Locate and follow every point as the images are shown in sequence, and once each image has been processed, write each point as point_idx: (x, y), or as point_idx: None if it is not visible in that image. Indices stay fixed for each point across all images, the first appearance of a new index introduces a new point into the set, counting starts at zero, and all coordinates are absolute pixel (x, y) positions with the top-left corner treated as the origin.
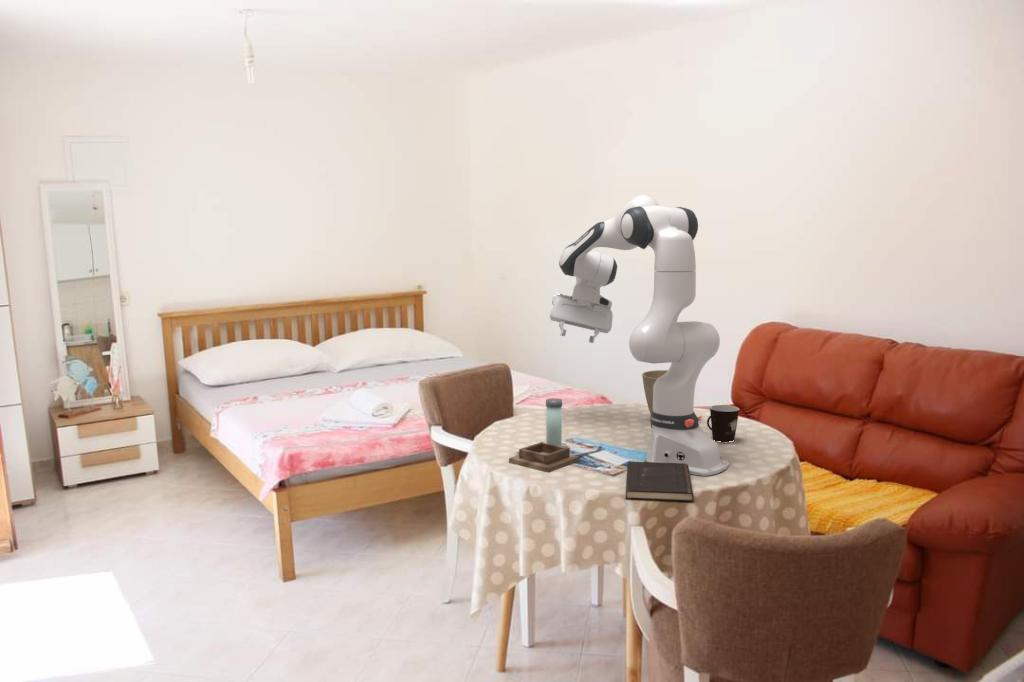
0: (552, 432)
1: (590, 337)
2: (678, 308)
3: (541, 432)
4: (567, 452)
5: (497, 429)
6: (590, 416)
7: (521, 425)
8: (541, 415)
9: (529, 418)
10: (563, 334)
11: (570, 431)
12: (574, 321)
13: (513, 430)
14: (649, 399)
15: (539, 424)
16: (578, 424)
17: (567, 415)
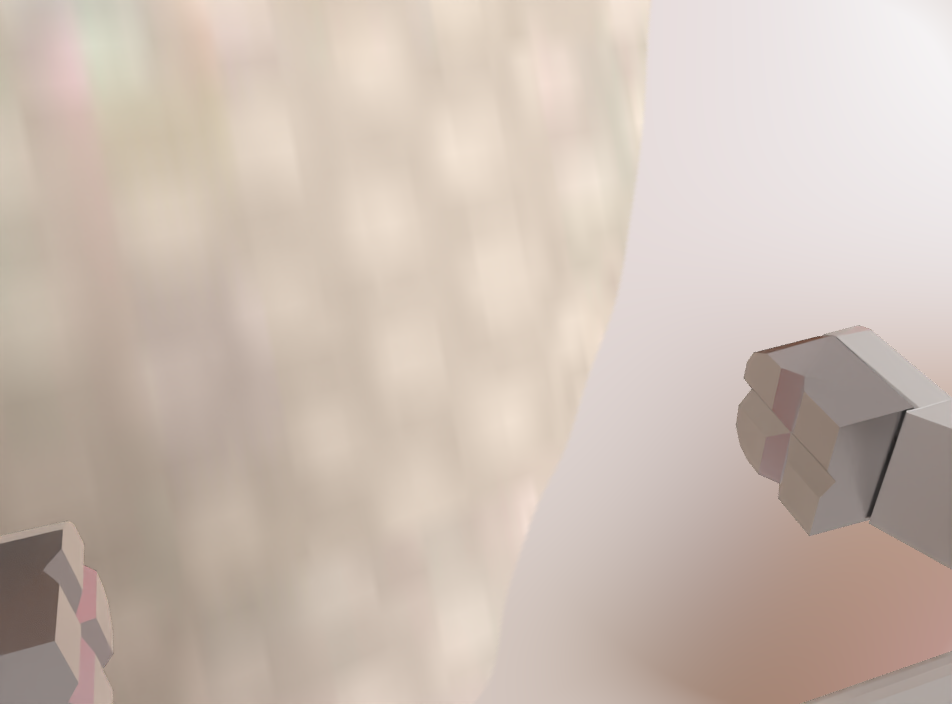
0: None
1: (50, 594)
2: None
3: (350, 48)
4: None
5: (618, 96)
6: None
7: (508, 223)
8: (437, 531)
9: (495, 423)
10: (797, 344)
11: (139, 103)
12: (911, 694)
13: (530, 83)
14: None
15: (404, 275)
16: (115, 342)
17: (259, 598)
